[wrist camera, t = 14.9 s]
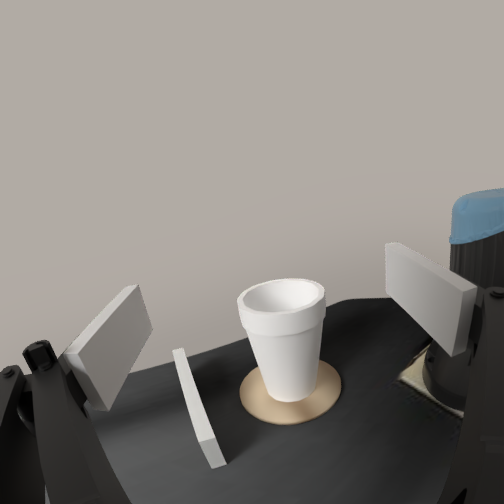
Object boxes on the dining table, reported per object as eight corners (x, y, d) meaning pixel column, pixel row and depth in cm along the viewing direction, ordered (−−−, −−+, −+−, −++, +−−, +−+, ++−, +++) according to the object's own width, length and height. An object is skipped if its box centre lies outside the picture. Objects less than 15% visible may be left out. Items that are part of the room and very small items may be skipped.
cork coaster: (308, 349, 42) (308, 346, 42) (361, 394, 30) (361, 391, 30) (228, 378, 38) (227, 375, 38) (263, 440, 26) (262, 437, 26)
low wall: (191, 374, 40) (182, 347, 38) (226, 464, 23) (215, 437, 22) (181, 377, 39) (172, 350, 38) (211, 468, 23) (198, 442, 21)
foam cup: (273, 422, 28) (257, 325, 25) (243, 379, 36) (225, 293, 33) (342, 388, 31) (343, 293, 28) (304, 356, 40) (296, 272, 36)
